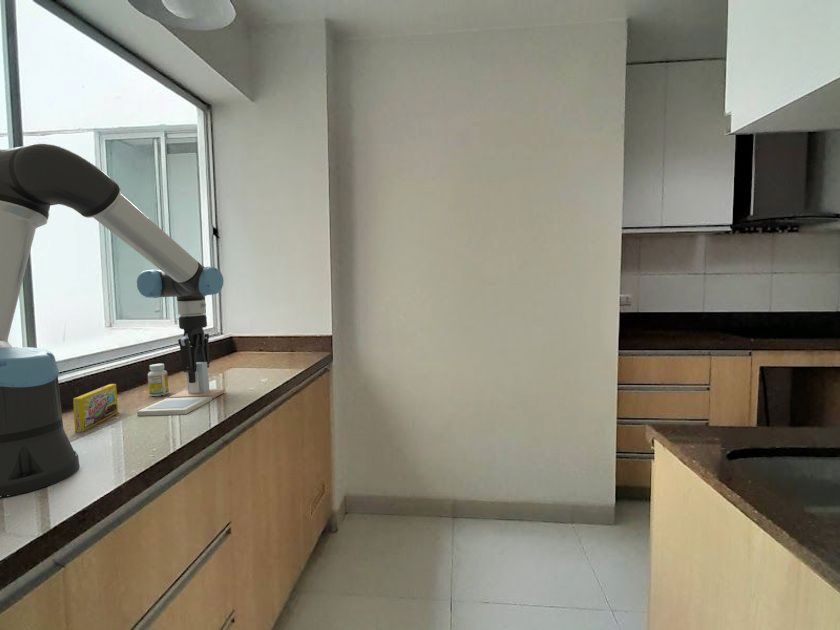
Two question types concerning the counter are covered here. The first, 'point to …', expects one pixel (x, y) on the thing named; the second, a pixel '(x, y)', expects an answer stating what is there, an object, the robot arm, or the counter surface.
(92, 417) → the candy box
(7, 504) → the counter surface
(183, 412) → the board
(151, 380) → the supplement bottle
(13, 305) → the robot arm
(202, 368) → the stub
